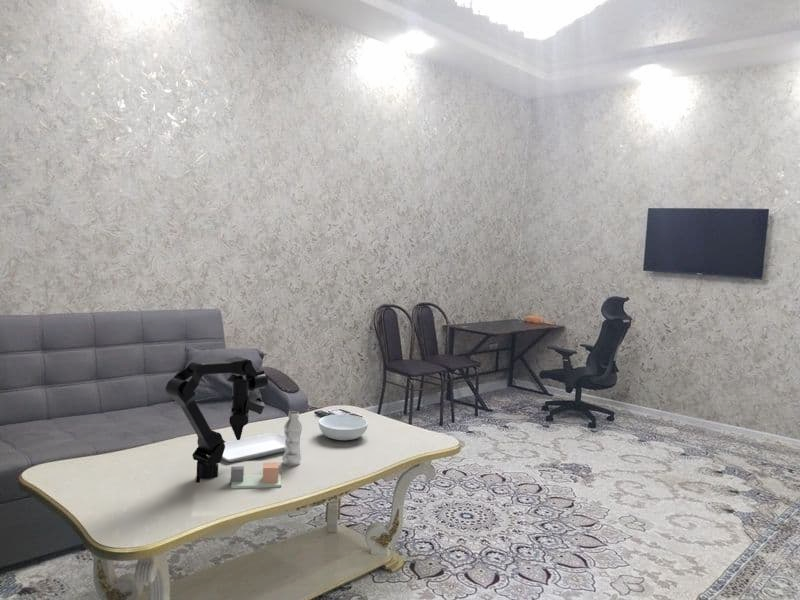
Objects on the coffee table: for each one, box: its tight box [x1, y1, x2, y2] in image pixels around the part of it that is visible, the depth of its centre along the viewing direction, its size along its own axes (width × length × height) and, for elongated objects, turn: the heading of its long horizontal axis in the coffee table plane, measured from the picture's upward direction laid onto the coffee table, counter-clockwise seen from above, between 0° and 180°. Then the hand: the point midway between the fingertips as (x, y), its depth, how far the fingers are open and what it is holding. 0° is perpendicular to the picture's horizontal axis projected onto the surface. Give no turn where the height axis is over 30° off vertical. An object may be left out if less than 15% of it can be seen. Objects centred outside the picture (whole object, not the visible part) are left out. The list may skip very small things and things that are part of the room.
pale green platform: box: [230, 465, 282, 490], centre depth 204 cm, size 16×9×5 cm, turn 103°
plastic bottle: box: [282, 410, 303, 467], centre depth 222 cm, size 6×7×20 cm
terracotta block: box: [262, 461, 280, 483], centre depth 205 cm, size 5×5×5 cm
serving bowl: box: [318, 414, 369, 441], centre depth 259 cm, size 21×21×7 cm
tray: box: [222, 432, 285, 463], centre depth 235 cm, size 17×32×4 cm, turn 134°
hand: (238, 435), depth 217 cm, fingers open, 9 cm apart
